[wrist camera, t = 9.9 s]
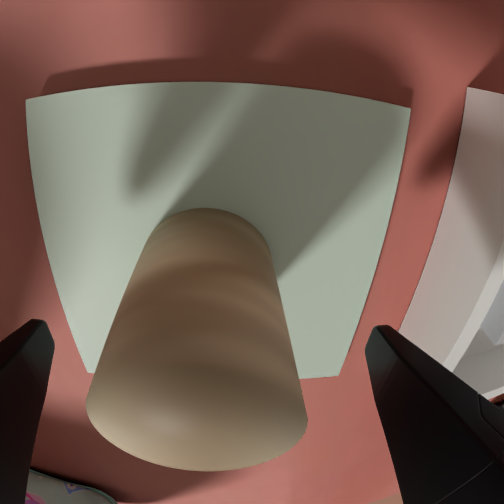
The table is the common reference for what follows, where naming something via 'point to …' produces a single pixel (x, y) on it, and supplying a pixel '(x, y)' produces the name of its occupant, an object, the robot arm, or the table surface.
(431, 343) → the tray
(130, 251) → the green pad
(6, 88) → the table surface
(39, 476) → the lunch box
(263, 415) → the birch cylinder
